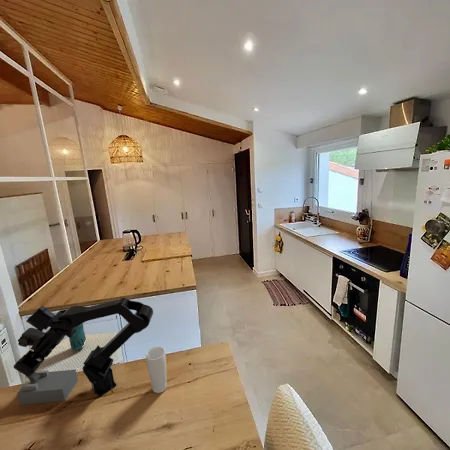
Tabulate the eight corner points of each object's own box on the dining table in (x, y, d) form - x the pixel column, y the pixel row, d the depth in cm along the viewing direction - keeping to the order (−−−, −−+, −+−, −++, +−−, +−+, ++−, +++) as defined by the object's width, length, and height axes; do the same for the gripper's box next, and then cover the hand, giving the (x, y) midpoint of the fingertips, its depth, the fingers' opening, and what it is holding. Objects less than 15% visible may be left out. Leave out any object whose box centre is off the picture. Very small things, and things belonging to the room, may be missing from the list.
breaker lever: (42, 376, 93) (29, 359, 92) (36, 383, 90) (22, 366, 89) (36, 378, 93) (23, 362, 92) (30, 385, 90) (16, 369, 89)
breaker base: (78, 380, 98) (75, 366, 97) (65, 400, 89) (61, 385, 88) (37, 384, 97) (33, 369, 96) (20, 405, 88) (16, 389, 87)
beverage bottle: (69, 354, 113) (61, 314, 108) (73, 345, 119) (65, 307, 115) (85, 351, 114) (77, 311, 110) (88, 342, 121) (81, 304, 116)
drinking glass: (172, 385, 93) (169, 350, 90) (159, 399, 88) (154, 362, 85) (160, 377, 97) (156, 344, 94) (146, 390, 91) (141, 355, 88)
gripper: (50, 309, 96) (26, 336, 98) (13, 340, 78) (-15, 373, 80) (74, 325, 98) (51, 352, 100) (44, 360, 80) (15, 392, 82)
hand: (27, 365), depth 90 cm, fingers closed, pressing on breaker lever
